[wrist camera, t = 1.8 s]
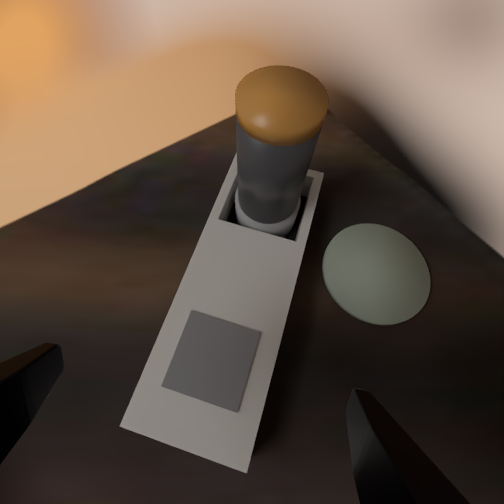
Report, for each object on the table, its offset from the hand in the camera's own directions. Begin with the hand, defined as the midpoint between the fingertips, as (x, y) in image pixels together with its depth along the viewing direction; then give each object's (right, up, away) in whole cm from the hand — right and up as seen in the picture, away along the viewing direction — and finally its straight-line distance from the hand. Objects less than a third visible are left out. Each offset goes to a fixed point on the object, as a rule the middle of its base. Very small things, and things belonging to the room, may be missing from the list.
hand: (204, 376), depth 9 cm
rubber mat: (+12, +2, +16) cm, 20 cm away
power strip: (+1, +1, +15) cm, 15 cm away
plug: (+3, +7, +18) cm, 20 cm away
